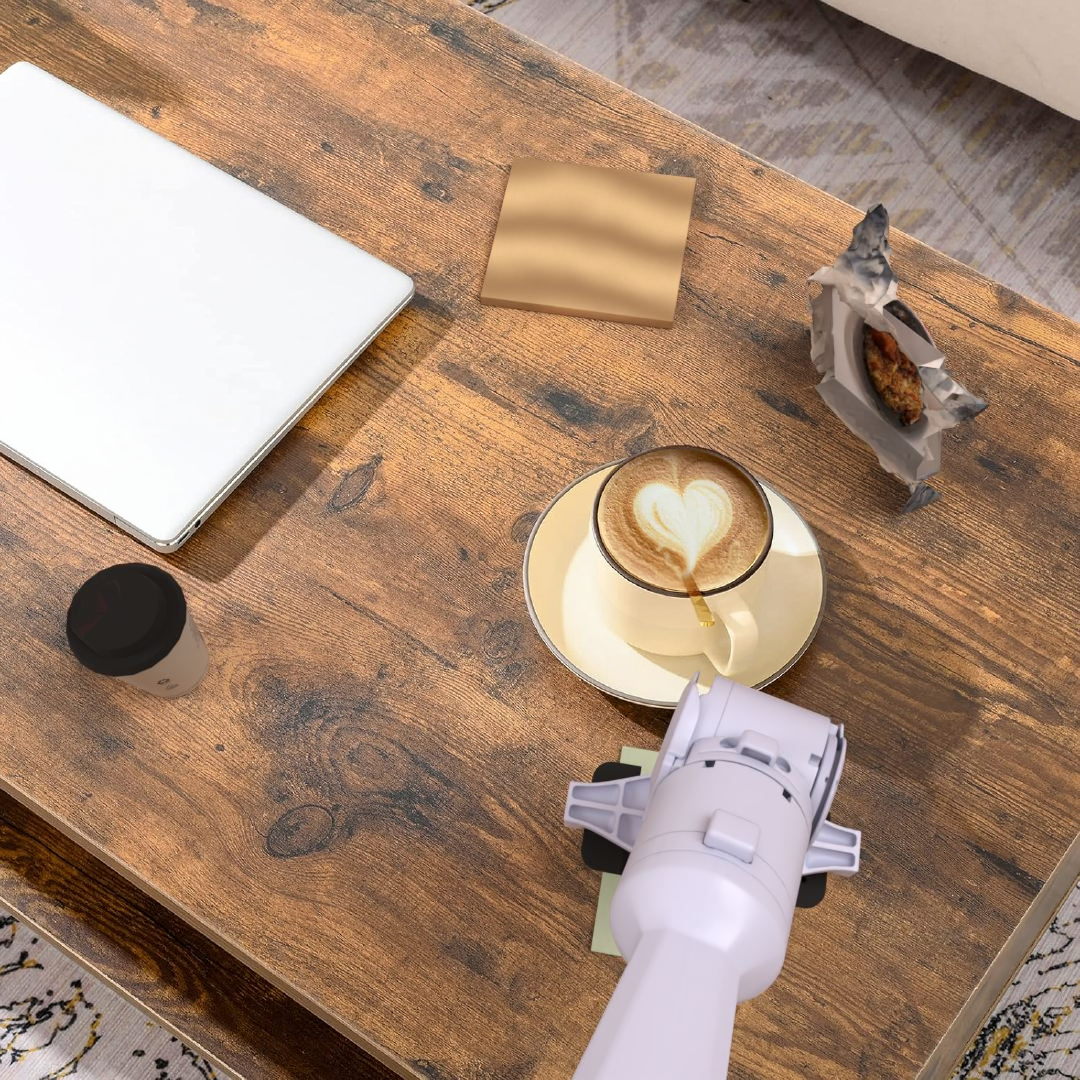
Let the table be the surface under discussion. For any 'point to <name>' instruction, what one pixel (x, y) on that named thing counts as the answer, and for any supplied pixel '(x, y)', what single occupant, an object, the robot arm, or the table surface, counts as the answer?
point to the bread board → (590, 242)
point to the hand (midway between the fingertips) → (695, 853)
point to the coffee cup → (137, 630)
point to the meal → (883, 362)
